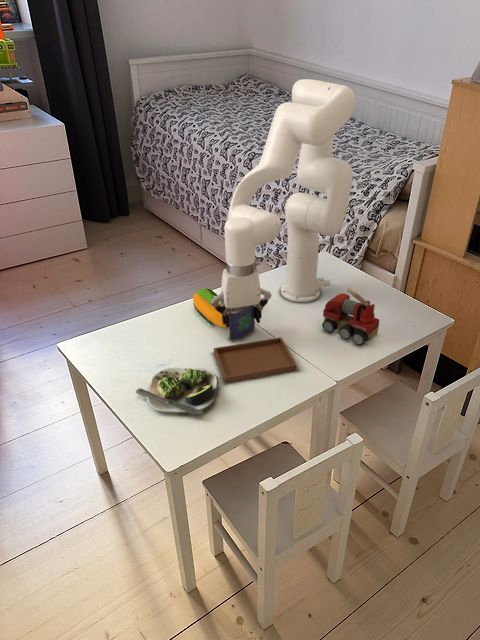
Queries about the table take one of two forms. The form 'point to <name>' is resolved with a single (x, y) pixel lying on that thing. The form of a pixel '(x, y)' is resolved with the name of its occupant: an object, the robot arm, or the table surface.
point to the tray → (254, 359)
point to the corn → (207, 307)
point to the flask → (241, 321)
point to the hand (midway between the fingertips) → (242, 322)
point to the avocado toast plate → (182, 390)
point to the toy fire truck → (351, 318)
